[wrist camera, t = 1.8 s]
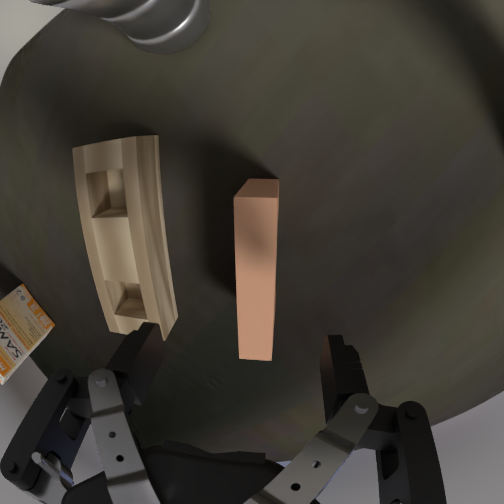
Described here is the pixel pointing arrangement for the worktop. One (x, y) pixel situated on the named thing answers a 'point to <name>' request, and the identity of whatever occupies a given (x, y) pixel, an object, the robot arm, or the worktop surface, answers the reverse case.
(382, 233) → the worktop surface
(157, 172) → the rail
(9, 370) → the supplement box
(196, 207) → the worktop surface
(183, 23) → the metal bottle
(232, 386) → the worktop surface
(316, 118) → the worktop surface
